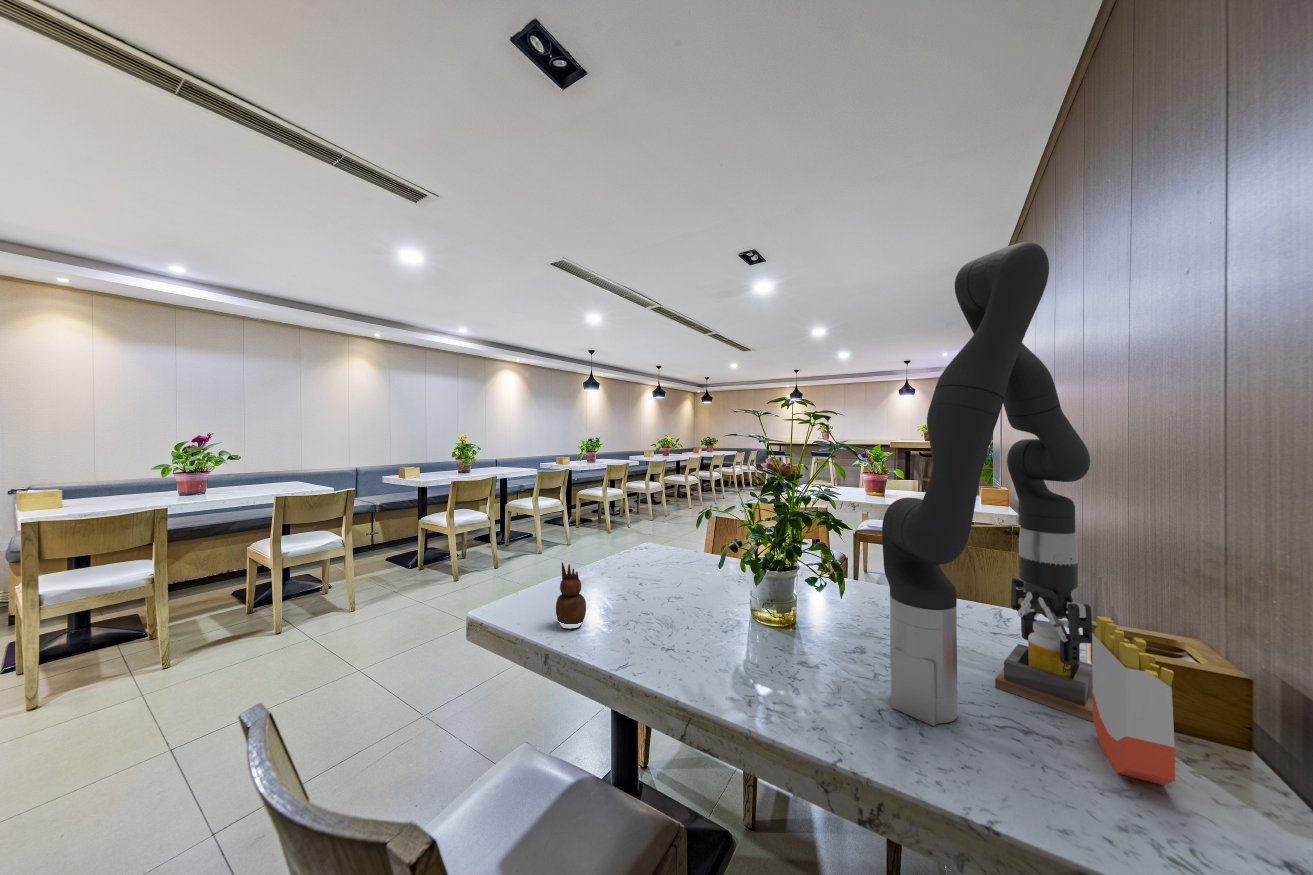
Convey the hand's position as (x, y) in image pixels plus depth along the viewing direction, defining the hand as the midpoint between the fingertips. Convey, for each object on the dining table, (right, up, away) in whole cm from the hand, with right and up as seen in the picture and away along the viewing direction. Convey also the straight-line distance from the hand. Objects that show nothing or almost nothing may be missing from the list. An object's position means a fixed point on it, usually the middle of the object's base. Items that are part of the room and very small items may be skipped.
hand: (1048, 650), depth 75 cm
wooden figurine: (-87, -8, +27) cm, 91 cm away
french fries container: (-4, -7, -17) cm, 19 cm away
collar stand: (0, -7, 0) cm, 7 cm away
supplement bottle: (0, -5, 0) cm, 5 cm away
